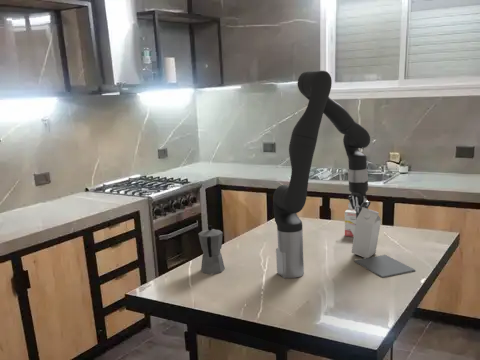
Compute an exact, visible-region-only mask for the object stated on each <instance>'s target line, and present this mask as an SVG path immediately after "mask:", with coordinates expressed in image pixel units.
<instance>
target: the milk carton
mask: <svg viewBox="0 0 480 360" xmlns="http://www.w3.org/2000/svg"><path fill="white" fill-rule="evenodd" d="M379 214H380V212H378V211H376V210H373V209H369V208H368V209H367V208H364V207H362V210H361V212H360V213H359V215H358V217H357V219H356V226H355V232H354V237H353V240H352V247H351V253H352V254H354V255H357V256H360V257H362V258H363V259H364V258H370V257H373V255H375V254H376V253H377V247H378V240H379V235H380V228H381V222H382V219H381V216H380V215H379Z"/></svg>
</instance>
